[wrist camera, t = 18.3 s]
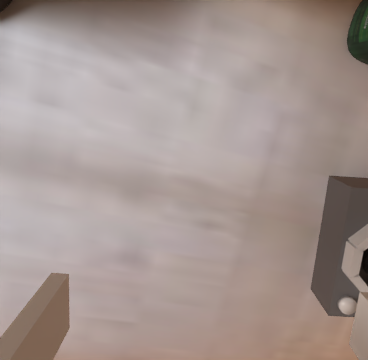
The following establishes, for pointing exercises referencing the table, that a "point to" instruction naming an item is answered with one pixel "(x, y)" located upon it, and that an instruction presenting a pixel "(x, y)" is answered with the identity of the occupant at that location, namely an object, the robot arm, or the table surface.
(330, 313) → the camera body
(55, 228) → the table surface
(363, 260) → the dark grey peg
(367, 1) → the coffee jar
